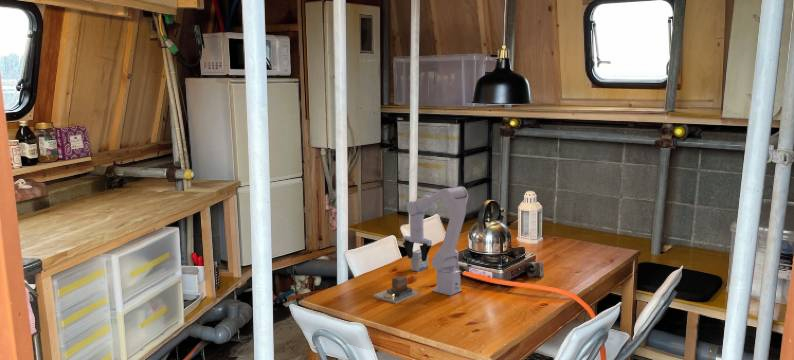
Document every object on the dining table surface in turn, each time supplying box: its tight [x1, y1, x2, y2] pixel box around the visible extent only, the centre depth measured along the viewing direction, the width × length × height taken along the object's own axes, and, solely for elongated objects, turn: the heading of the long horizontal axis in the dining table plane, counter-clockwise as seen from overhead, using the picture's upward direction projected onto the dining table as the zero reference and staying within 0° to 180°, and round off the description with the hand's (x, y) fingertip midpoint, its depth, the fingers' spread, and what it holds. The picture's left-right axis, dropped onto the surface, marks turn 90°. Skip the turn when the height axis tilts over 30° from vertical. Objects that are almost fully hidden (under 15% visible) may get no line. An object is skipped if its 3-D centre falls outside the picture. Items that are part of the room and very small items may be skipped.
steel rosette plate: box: [373, 286, 420, 304], centre depth 246 cm, size 12×14×2 cm
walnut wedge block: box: [391, 275, 408, 292], centre depth 247 cm, size 4×5×6 cm
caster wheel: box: [523, 260, 545, 278], centre depth 271 cm, size 7×11×10 cm
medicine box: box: [410, 248, 429, 273], centre depth 282 cm, size 8×4×9 cm, turn 143°
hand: (417, 259), depth 264 cm, fingers open, 7 cm apart
